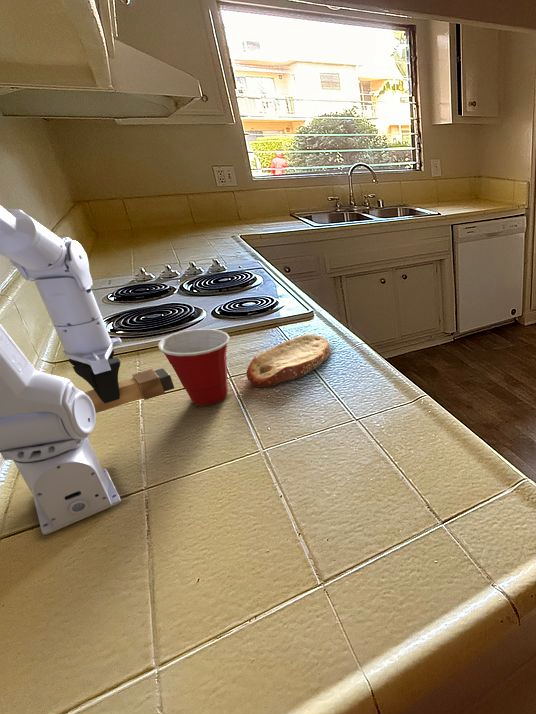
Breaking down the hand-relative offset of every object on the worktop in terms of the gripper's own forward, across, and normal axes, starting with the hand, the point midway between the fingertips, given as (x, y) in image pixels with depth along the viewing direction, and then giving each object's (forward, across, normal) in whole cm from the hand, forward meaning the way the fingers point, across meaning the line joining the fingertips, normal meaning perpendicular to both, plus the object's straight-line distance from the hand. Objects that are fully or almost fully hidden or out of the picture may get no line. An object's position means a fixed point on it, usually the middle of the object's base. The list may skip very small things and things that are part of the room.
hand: (109, 397), depth 75 cm
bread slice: (+6, +2, -31) cm, 31 cm away
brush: (+1, 0, -2) cm, 3 cm away
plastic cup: (+6, -2, -14) cm, 15 cm away
